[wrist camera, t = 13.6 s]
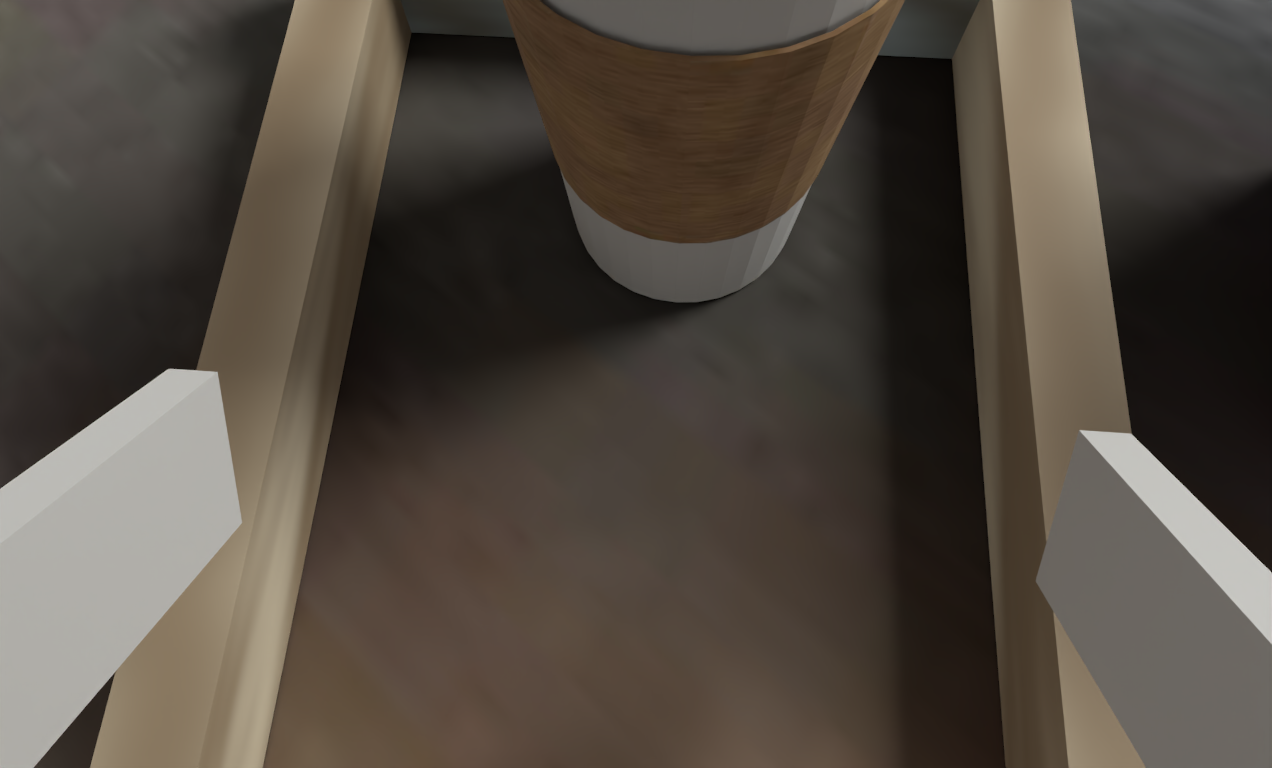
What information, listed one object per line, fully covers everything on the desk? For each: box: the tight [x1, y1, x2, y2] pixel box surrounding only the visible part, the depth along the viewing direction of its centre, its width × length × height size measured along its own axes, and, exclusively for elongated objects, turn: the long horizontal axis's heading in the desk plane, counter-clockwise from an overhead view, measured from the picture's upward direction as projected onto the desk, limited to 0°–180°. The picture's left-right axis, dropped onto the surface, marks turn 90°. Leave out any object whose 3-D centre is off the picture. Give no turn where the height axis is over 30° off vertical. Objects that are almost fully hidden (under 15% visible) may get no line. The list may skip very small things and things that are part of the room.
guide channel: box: [90, 0, 1146, 768], centre depth 20 cm, size 20×24×4 cm
